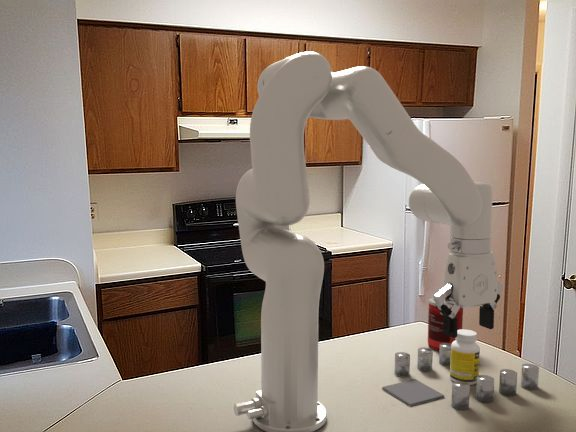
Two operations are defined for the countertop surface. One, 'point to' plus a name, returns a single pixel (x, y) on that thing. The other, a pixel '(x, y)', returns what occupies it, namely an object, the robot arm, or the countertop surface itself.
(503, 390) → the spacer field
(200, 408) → the countertop surface
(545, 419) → the countertop surface
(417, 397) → the mat
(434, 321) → the canned food
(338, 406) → the countertop surface
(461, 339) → the supplement bottle
